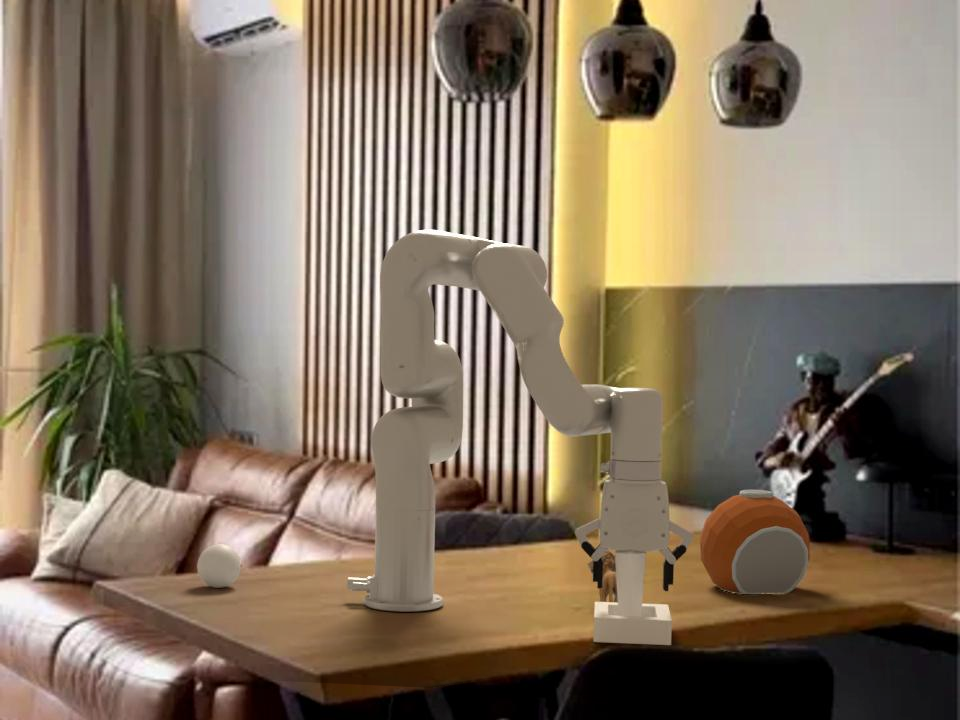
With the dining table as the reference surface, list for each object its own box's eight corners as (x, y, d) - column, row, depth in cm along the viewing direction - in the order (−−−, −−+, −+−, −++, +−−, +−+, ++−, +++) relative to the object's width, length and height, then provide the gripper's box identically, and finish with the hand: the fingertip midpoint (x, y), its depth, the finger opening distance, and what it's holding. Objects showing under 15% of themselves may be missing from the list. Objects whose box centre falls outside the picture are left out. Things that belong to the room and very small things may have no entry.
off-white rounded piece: (242, 591, 231) (243, 547, 231) (196, 591, 230) (197, 547, 230) (240, 580, 241) (241, 538, 241) (196, 581, 240) (197, 538, 240)
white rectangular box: (593, 641, 199) (594, 617, 199) (594, 624, 211) (594, 601, 211) (671, 645, 198) (671, 620, 198) (667, 627, 210) (668, 604, 210)
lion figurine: (585, 602, 228) (586, 548, 228) (616, 602, 229) (618, 548, 229) (602, 621, 214) (604, 563, 214) (636, 621, 214) (638, 563, 214)
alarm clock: (780, 579, 255) (783, 485, 255) (826, 597, 238) (829, 496, 238) (683, 581, 250) (685, 485, 250) (722, 600, 233) (725, 497, 233)
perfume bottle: (641, 639, 201) (642, 536, 201) (612, 636, 203) (613, 534, 202) (648, 632, 206) (649, 531, 205) (620, 629, 207) (620, 529, 207)
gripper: (575, 472, 201) (573, 590, 201) (696, 476, 199) (693, 595, 200) (577, 467, 208) (574, 581, 209) (693, 471, 207) (690, 586, 207)
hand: (632, 588), depth 204 cm, fingers open, 9 cm apart
